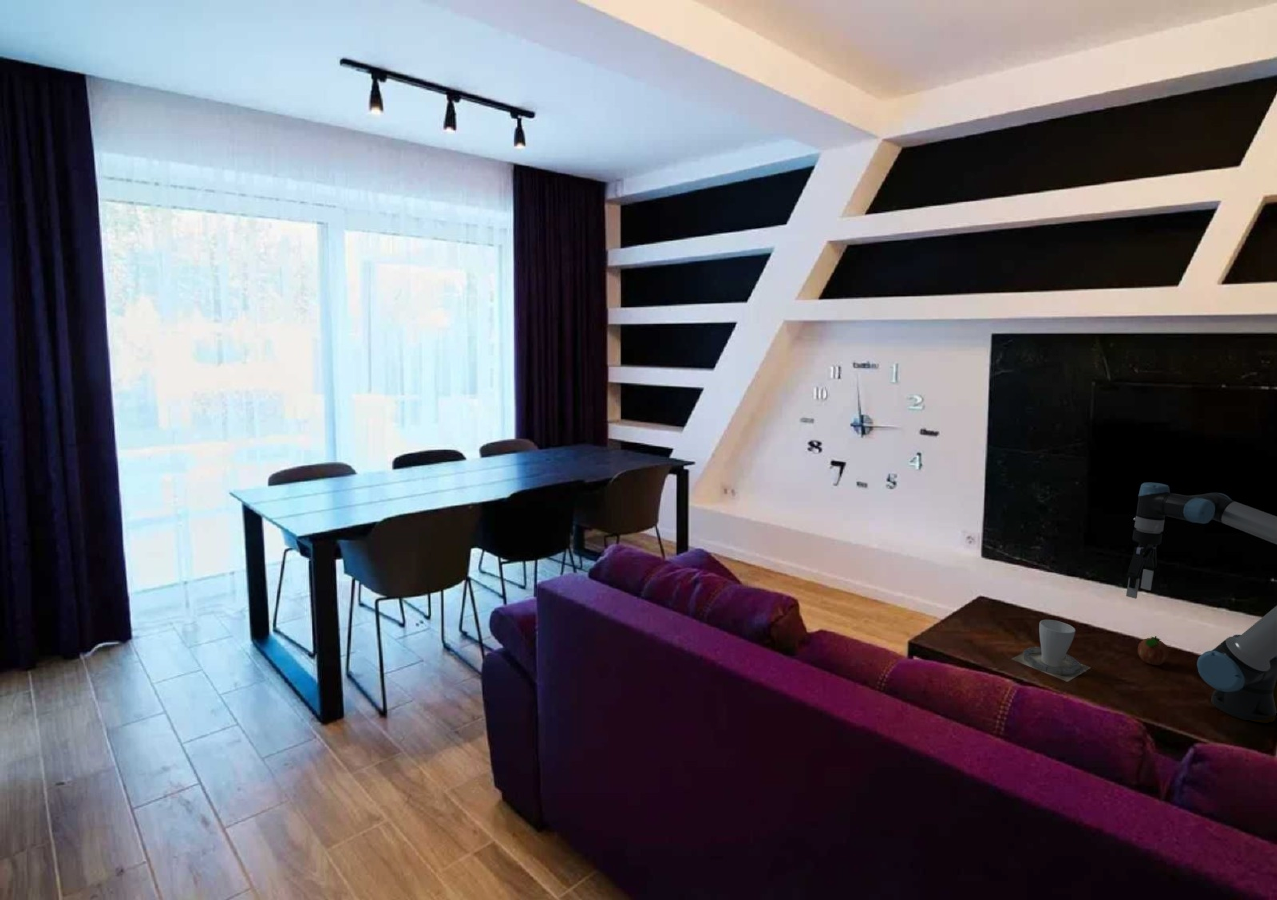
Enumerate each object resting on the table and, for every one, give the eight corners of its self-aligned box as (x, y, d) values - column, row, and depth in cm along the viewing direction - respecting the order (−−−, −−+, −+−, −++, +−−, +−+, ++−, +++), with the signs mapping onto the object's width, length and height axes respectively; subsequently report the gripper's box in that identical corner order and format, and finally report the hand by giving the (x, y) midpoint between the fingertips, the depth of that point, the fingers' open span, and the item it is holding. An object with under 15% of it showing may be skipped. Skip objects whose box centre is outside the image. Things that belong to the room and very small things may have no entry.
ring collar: (1087, 667, 234) (1088, 662, 233) (1065, 680, 224) (1066, 674, 224) (1037, 647, 247) (1037, 643, 246) (1014, 659, 237) (1015, 654, 237)
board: (1090, 670, 234) (1091, 667, 233) (1066, 685, 223) (1067, 681, 223) (1035, 649, 248) (1035, 646, 248) (1010, 662, 237) (1011, 658, 237)
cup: (1035, 652, 243) (1041, 616, 240) (1070, 662, 237) (1076, 625, 234) (1032, 663, 234) (1038, 626, 232) (1068, 673, 228) (1074, 635, 226)
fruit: (1170, 665, 241) (1176, 638, 239) (1159, 671, 235) (1164, 644, 234) (1142, 654, 248) (1147, 628, 246) (1130, 660, 243) (1135, 634, 241)
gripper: (1147, 522, 233) (1138, 582, 236) (1120, 533, 218) (1111, 597, 221) (1174, 527, 227) (1164, 589, 230) (1148, 538, 212) (1139, 604, 215)
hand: (1138, 593), depth 226 cm, fingers open, 13 cm apart
